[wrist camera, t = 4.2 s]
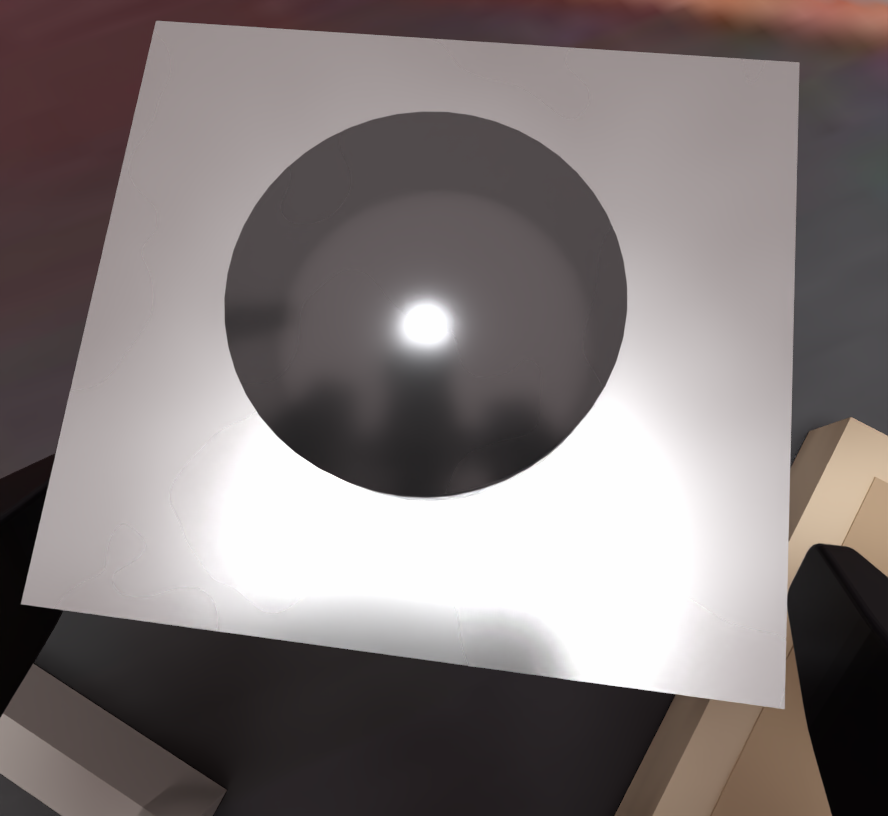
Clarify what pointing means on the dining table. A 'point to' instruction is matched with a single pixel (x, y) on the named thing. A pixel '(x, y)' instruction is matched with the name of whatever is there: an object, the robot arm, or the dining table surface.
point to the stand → (785, 730)
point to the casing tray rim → (93, 758)
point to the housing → (443, 358)
